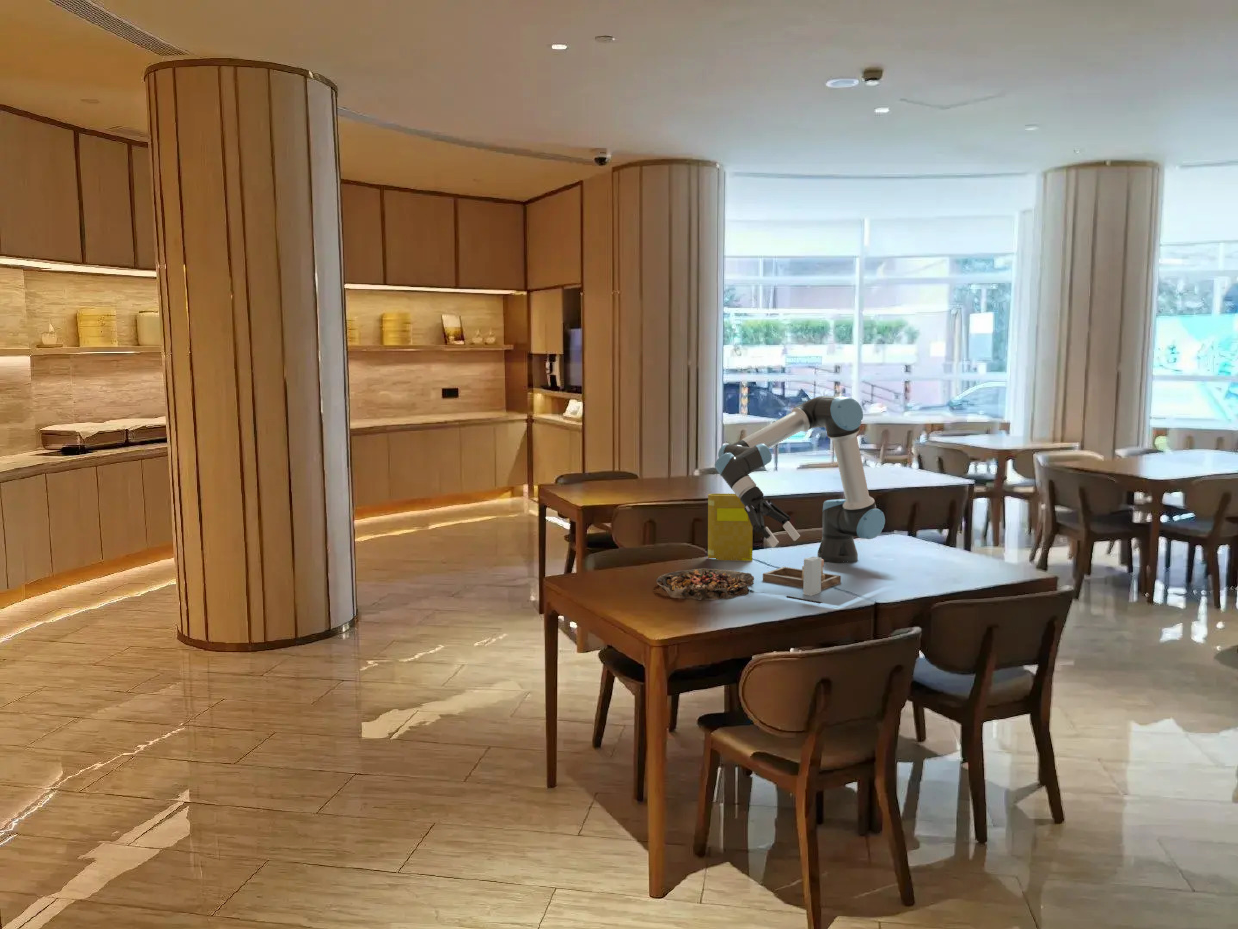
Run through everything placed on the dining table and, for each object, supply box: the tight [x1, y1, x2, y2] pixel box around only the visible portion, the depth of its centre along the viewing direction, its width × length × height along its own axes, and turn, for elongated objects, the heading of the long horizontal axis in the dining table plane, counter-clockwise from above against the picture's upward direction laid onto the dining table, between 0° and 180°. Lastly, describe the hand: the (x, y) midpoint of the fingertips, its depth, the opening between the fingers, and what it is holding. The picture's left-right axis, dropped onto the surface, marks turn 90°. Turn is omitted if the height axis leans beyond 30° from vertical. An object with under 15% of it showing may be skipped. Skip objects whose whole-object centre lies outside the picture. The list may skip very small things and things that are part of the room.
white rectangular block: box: [802, 556, 822, 597], centre depth 310 cm, size 6×3×12 cm, turn 139°
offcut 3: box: [802, 575, 825, 581], centre depth 323 cm, size 5×6×3 cm
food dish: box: [655, 567, 755, 601], centre depth 323 cm, size 35×33×8 cm
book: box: [707, 493, 754, 562], centre depth 368 cm, size 17×7×25 cm, turn 84°
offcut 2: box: [801, 565, 824, 575], centre depth 323 cm, size 4×6×3 cm
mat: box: [786, 595, 823, 604], centre depth 310 cm, size 12×12×1 cm
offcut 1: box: [804, 557, 825, 568], centre depth 323 cm, size 4×5×2 cm
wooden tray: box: [762, 566, 842, 591], centre depth 326 cm, size 14×22×4 cm, turn 49°
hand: (786, 541), depth 315 cm, fingers open, 13 cm apart
